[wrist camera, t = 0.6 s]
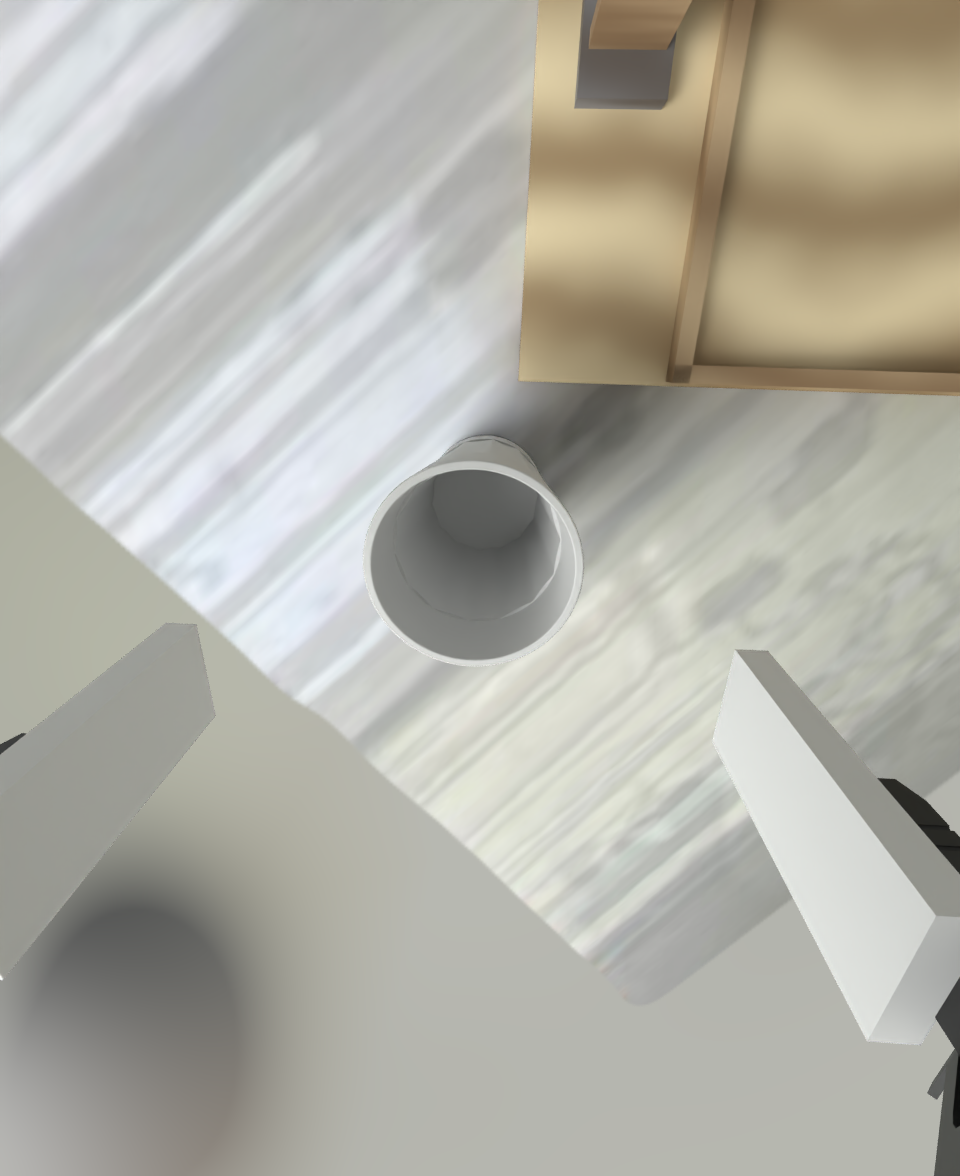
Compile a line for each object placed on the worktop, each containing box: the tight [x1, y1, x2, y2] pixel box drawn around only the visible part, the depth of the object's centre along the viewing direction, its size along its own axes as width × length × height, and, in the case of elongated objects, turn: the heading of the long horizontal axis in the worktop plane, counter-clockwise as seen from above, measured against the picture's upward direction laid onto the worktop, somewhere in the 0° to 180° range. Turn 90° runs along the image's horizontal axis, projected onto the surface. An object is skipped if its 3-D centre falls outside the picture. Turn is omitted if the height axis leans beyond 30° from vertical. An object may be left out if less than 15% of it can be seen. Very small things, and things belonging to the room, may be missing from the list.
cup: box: [363, 435, 584, 666], centre depth 25 cm, size 8×8×12 cm
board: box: [518, 0, 960, 396], centre depth 19 cm, size 16×23×11 cm
